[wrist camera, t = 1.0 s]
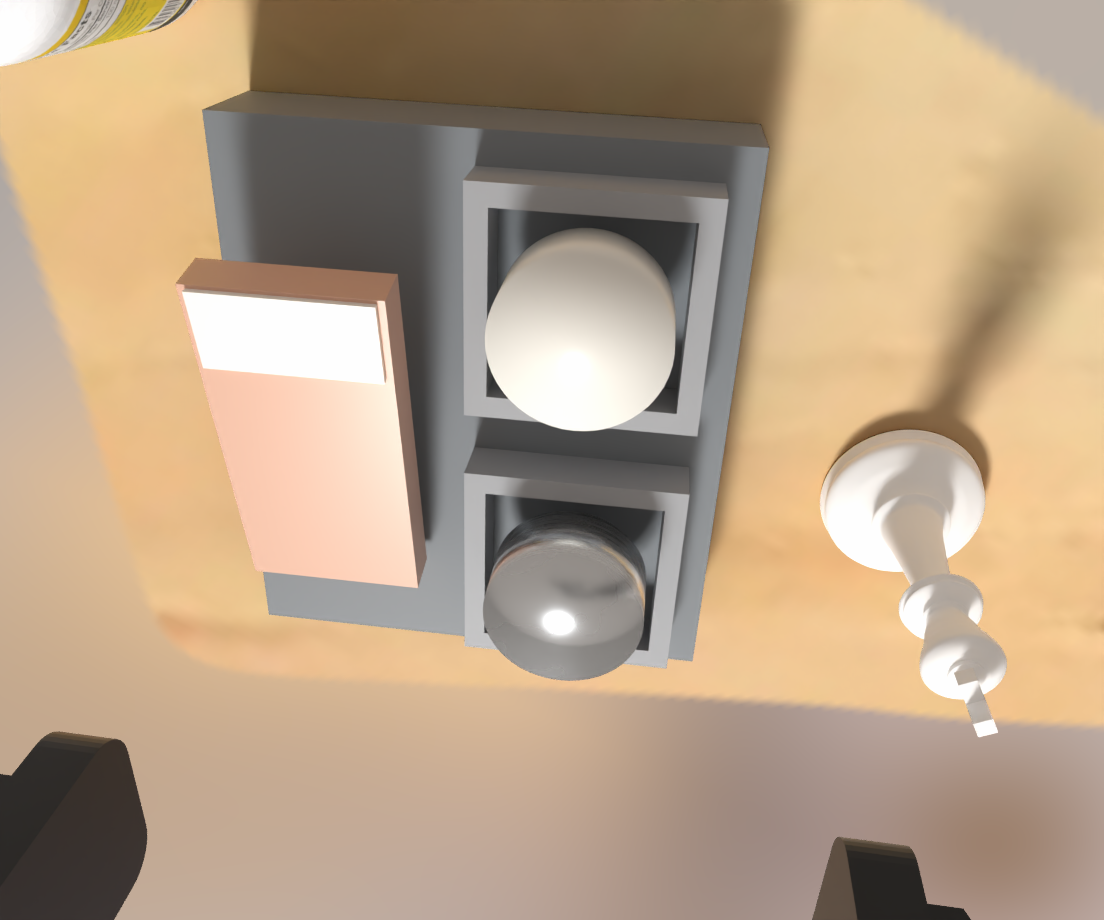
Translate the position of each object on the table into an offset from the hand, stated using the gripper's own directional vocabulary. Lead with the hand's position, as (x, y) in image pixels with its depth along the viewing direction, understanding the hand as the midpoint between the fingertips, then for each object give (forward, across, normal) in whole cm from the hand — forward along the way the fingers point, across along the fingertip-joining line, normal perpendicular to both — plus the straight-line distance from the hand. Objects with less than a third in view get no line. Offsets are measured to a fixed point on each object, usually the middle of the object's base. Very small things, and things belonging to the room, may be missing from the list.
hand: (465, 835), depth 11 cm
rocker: (+15, +7, +4) cm, 17 cm away
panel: (+20, +3, +4) cm, 20 cm away
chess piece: (+20, -10, +7) cm, 24 cm away
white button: (+15, 0, 0) cm, 15 cm away
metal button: (+15, 0, +8) cm, 17 cm away
